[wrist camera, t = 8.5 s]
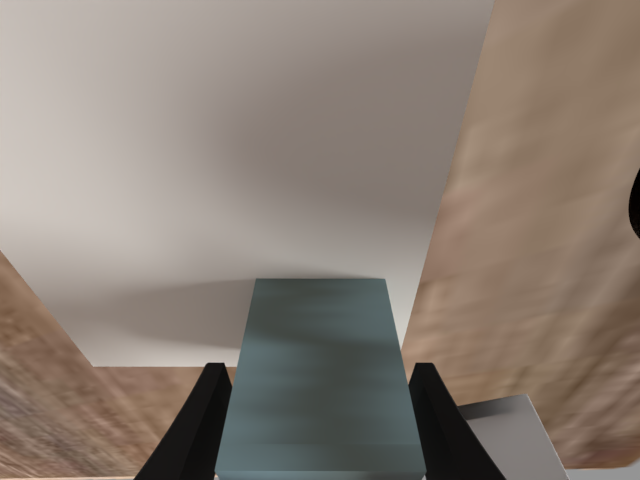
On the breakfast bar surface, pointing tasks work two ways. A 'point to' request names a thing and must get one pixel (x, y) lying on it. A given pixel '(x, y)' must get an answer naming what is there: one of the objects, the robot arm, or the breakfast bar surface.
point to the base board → (222, 157)
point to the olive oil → (635, 205)
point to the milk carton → (514, 438)
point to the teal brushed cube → (320, 387)
